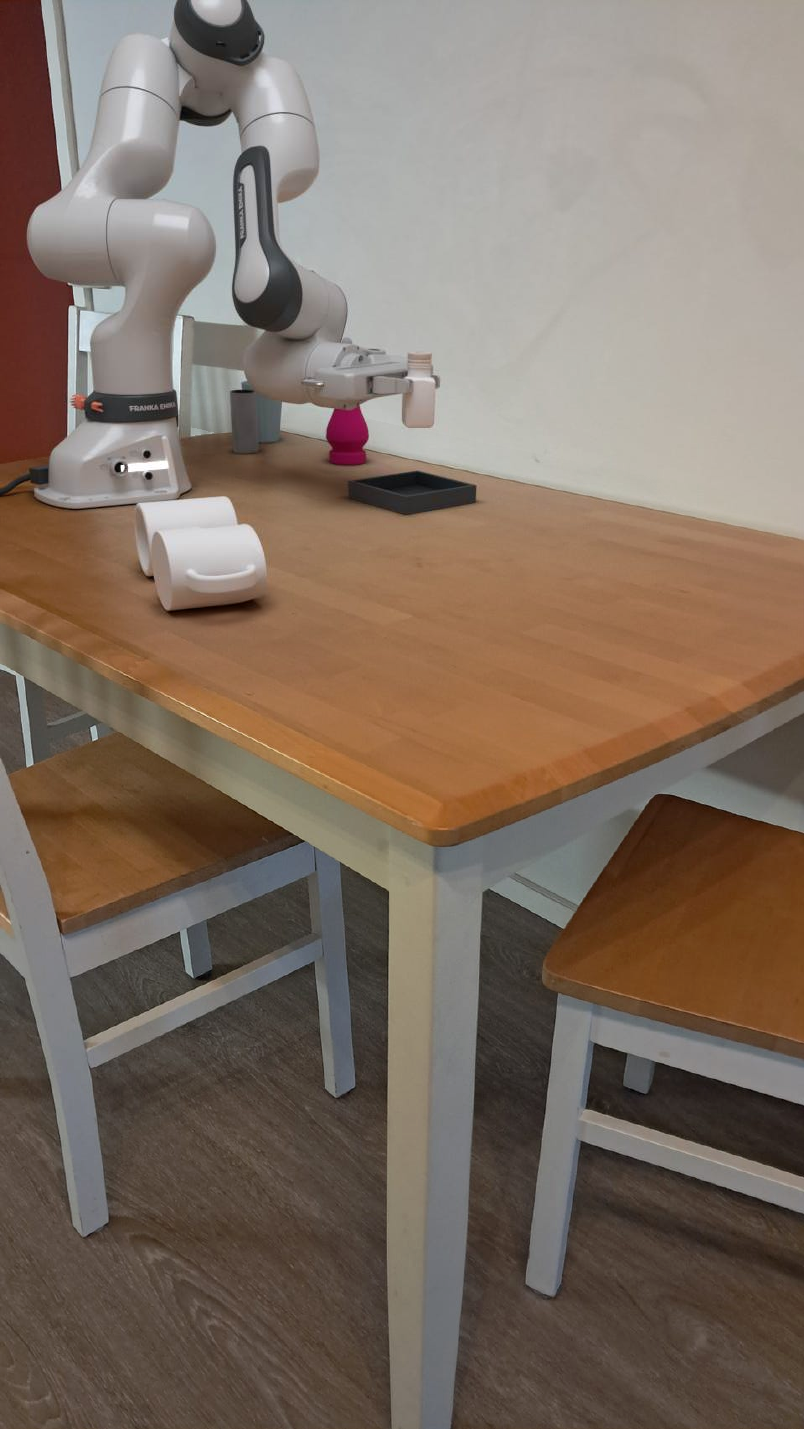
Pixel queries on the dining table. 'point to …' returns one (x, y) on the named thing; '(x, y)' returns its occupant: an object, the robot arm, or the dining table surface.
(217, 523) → the mug
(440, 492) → the spice tray
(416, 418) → the pepper shaker
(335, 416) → the pepper mill
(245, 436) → the planter
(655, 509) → the dining table surface
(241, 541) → the mug
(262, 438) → the cup
